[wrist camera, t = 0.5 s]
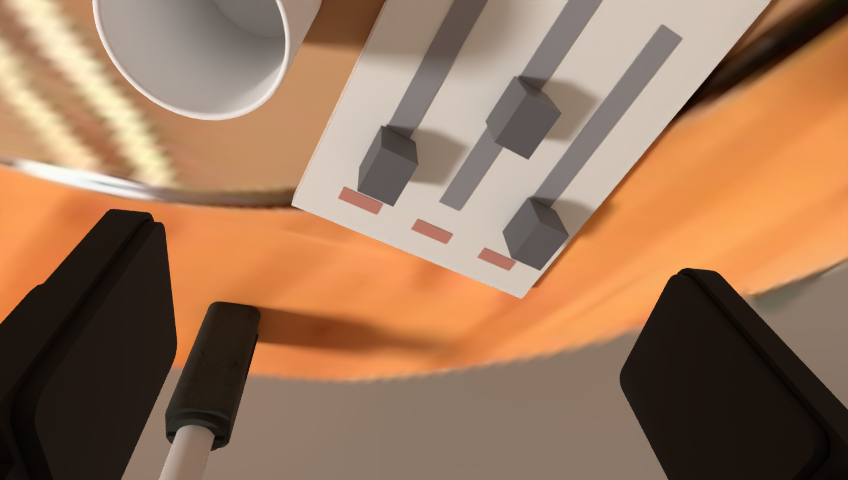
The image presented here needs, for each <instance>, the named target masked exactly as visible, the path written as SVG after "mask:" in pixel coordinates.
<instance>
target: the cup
mask: <svg viewBox="0 0 848 480" xmlns="http://www.w3.org/2000/svg"><path fill="white" fill-rule="evenodd" d="M321 3H322V0H93V12H94V18H95V22H96V26H97V30H98V33H99V35H100V38H101V40H102V43H103V45H104V47H105V49H106V51H107V53H108V55H109V56H110V58H111V60H112V61H113V63H114V64H115V66H116V67H117V68H118V70H119V71H120V72H121V73H122V75H123V76H124V77H125V78H126V79H127V80H128V81H129V82H130V83H131V84H132V85H133V86H134V87H135V88H136V89H137V90H139V91H140V92H141V93H142V94H143V95H145V96H146V97H148V98H149V99H150V100H152V101H153V102H155V103H157V104H158V105H160V106H162V107H164V108H166V109H168V110H170V111H173V112H175V113H177V114H181V115H184V116H187V117H191V118H196V119H202V120H224V119H231V118H235V117H239V116H242V115H245V114H247V113H249V112H251V111H253V110H255V109H256V108H258V107H259V106H261V105H262V104H263V103H264V102H266V101H267V100H268V99H269V98H270V97H271V96H272V95H273V94H274V92H275V91H276V90H277V89H278V87H279V86H280V84H281V83H282V81H283V79H284V77H285V75H286V73H287V71H288V69H289V67H290V65H291V63H292V62H293V60H294V58H295V56H296V54H297V52H298V50H299V48H300V46H301V44H302V42H303V40H304V38H305V36H306V34H307V32H308V30H309V28H310V26H311V24H312V23H313V21H314V19H315V17H316V15H317V13H318V11H319V9H320V6H321Z"/></svg>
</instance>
